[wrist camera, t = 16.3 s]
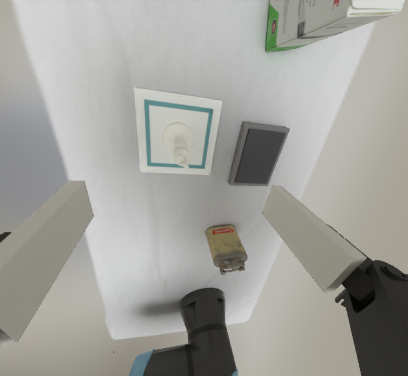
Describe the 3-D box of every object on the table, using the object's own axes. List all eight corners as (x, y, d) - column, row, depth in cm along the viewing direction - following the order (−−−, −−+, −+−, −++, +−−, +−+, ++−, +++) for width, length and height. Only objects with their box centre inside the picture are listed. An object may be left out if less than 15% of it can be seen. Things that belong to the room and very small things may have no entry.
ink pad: (264, 183, 33) (268, 186, 31) (228, 181, 31) (230, 186, 30) (285, 127, 27) (291, 129, 26) (242, 121, 25) (246, 123, 24)
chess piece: (184, 115, 23) (193, 130, 15) (199, 144, 26) (214, 171, 17) (155, 132, 24) (148, 156, 15) (173, 159, 26) (176, 192, 18)
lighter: (235, 223, 38) (254, 261, 29) (233, 234, 40) (250, 273, 31) (205, 227, 36) (216, 268, 28) (205, 238, 38) (215, 280, 30)
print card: (209, 174, 29) (210, 175, 29) (140, 171, 26) (139, 172, 26) (222, 100, 23) (222, 100, 23) (134, 87, 20) (133, 87, 20)
